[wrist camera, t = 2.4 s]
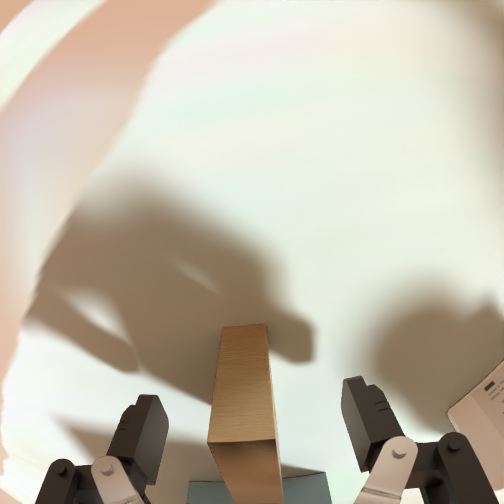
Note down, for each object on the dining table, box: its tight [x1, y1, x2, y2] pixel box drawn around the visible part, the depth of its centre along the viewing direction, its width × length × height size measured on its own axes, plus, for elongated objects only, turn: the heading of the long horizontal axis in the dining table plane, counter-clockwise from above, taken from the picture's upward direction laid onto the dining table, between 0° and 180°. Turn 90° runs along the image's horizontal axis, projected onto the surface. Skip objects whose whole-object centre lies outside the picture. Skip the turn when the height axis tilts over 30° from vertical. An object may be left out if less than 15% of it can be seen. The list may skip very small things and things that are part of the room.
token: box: [207, 324, 284, 504], centre depth 10 cm, size 2×6×6 cm, turn 7°
